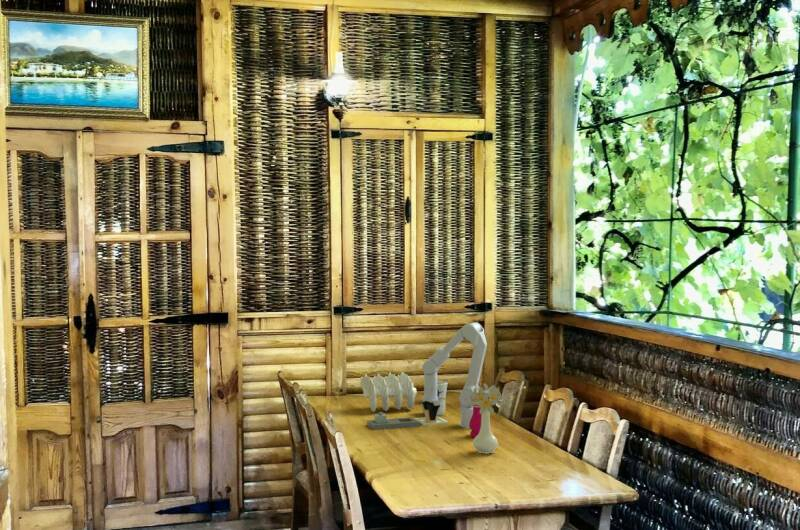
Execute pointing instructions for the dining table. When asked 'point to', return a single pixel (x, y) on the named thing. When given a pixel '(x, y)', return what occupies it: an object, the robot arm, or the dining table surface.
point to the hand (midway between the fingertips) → (430, 419)
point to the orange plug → (427, 418)
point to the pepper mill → (475, 420)
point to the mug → (441, 388)
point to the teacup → (441, 408)
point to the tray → (439, 421)
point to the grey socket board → (394, 423)
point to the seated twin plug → (380, 418)
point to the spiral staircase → (388, 390)
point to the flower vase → (486, 417)
